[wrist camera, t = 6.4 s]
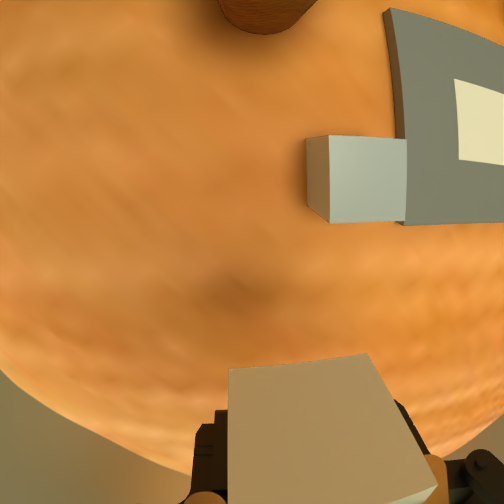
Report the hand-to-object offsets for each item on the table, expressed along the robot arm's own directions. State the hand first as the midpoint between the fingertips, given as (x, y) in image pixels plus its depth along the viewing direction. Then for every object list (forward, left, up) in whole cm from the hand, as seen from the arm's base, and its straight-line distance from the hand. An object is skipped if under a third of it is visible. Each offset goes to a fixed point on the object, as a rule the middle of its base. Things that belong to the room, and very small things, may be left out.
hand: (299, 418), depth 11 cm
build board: (-13, +20, -15) cm, 28 cm away
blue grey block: (-8, +6, -15) cm, 18 cm away
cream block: (0, 0, -1) cm, 1 cm away
